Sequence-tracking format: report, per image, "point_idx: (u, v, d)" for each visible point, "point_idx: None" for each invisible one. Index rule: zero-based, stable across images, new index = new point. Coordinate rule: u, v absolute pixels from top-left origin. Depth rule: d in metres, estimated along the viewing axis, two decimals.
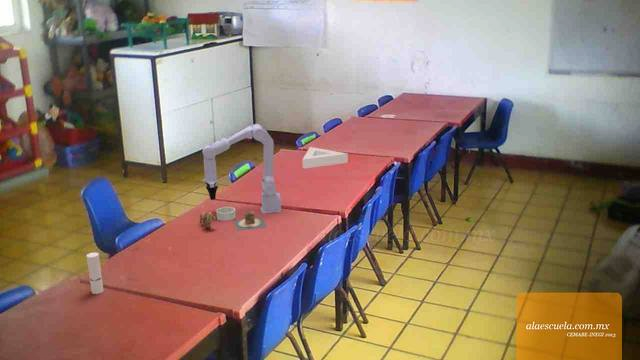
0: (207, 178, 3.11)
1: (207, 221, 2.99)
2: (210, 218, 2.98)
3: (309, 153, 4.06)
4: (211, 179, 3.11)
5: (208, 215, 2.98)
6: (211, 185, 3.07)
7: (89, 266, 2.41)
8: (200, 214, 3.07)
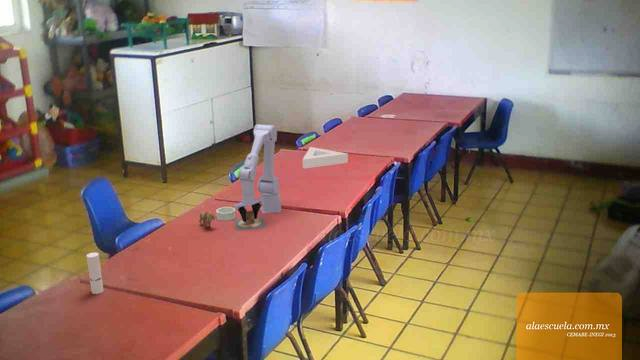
0: None
1: (207, 220, 3.00)
2: (210, 217, 2.99)
3: (309, 153, 4.06)
4: (243, 201, 3.03)
5: (208, 214, 2.99)
6: (234, 206, 3.01)
7: (89, 266, 2.41)
8: (200, 214, 3.07)
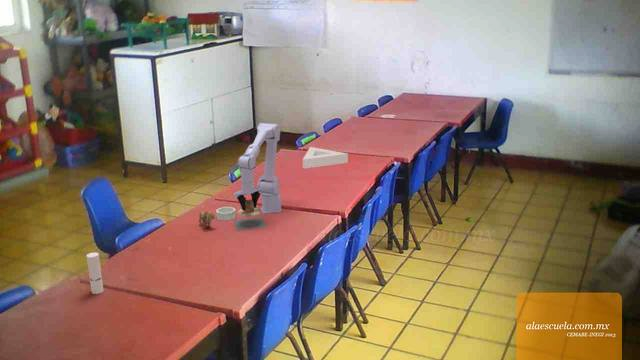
0: None
1: (207, 220, 3.00)
2: (210, 217, 2.99)
3: (309, 153, 4.06)
4: (242, 190, 3.01)
5: (208, 214, 2.99)
6: (234, 195, 3.00)
7: (89, 266, 2.41)
8: None
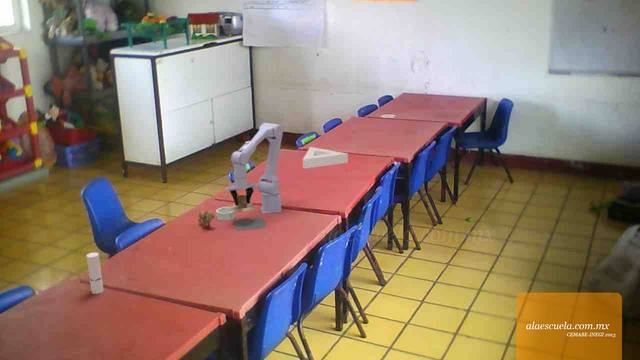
0: None
1: (207, 220, 3.00)
2: (210, 217, 3.00)
3: (309, 153, 4.06)
4: (235, 185, 3.04)
5: (208, 214, 3.00)
6: (226, 189, 3.03)
7: (89, 266, 2.41)
8: (199, 213, 3.08)
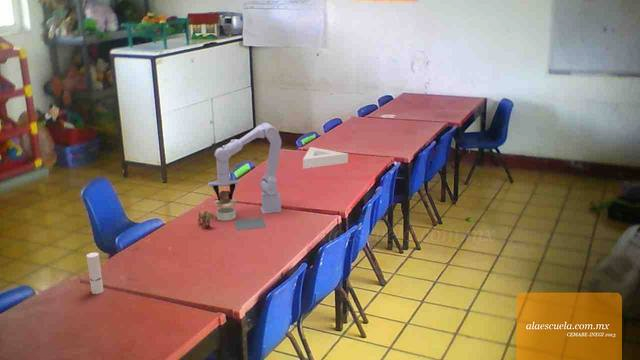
0: None
1: (207, 219, 3.01)
2: (210, 216, 3.00)
3: (309, 153, 4.06)
4: None
5: (208, 213, 3.00)
6: None
7: (89, 266, 2.41)
8: (199, 213, 3.09)
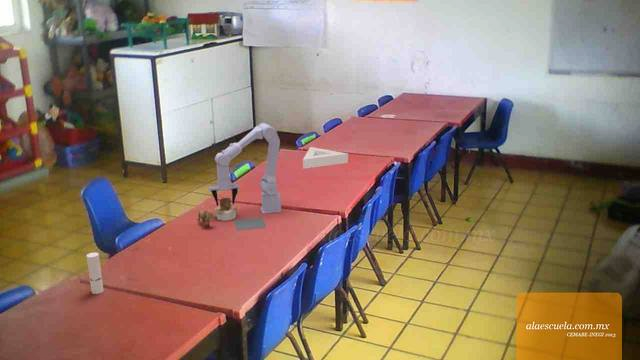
0: None
1: (207, 219, 3.02)
2: (210, 216, 3.01)
3: (309, 153, 4.06)
4: (218, 185, 3.11)
5: (208, 213, 3.01)
6: (209, 189, 3.11)
7: (89, 266, 2.41)
8: None
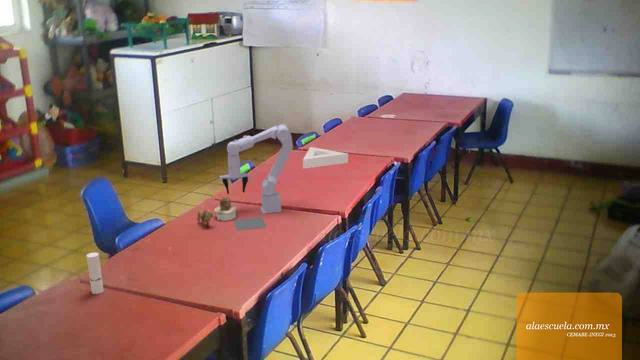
0: None
1: (206, 219, 3.02)
2: (209, 215, 3.01)
3: (309, 153, 4.06)
4: (228, 174, 3.17)
5: (207, 213, 3.01)
6: None
7: (89, 266, 2.41)
8: (198, 212, 3.09)
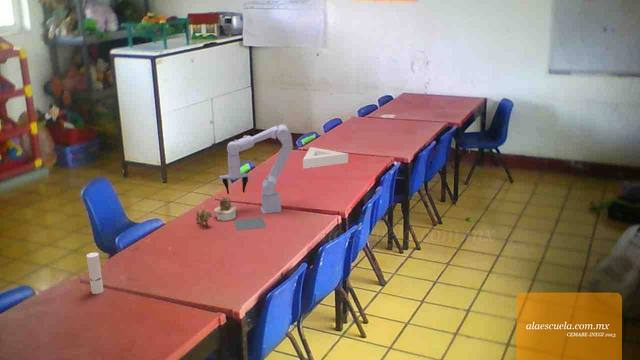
0: None
1: (204, 218, 3.02)
2: (207, 215, 3.02)
3: (309, 153, 4.06)
4: (228, 174, 3.17)
5: (205, 212, 3.02)
6: None
7: (89, 266, 2.41)
8: (197, 212, 3.10)
